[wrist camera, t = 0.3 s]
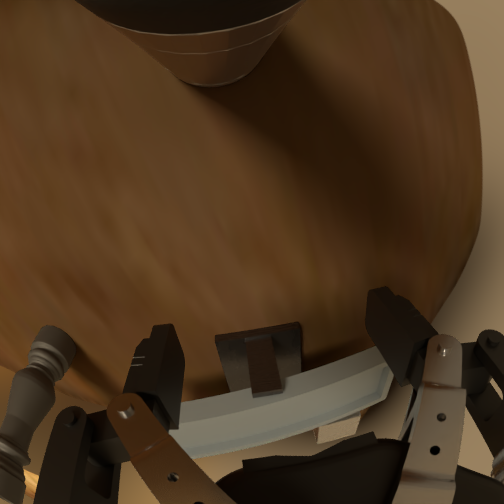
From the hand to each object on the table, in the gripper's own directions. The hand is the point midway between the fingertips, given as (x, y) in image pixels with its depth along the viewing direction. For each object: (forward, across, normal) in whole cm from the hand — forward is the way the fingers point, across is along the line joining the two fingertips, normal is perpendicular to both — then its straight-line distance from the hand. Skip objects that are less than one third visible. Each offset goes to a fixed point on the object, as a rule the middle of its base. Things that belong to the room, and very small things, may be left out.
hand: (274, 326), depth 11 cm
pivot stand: (+19, +1, +21) cm, 28 cm away
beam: (+12, +1, +21) cm, 24 cm away
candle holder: (+19, +29, +14) cm, 37 cm away
